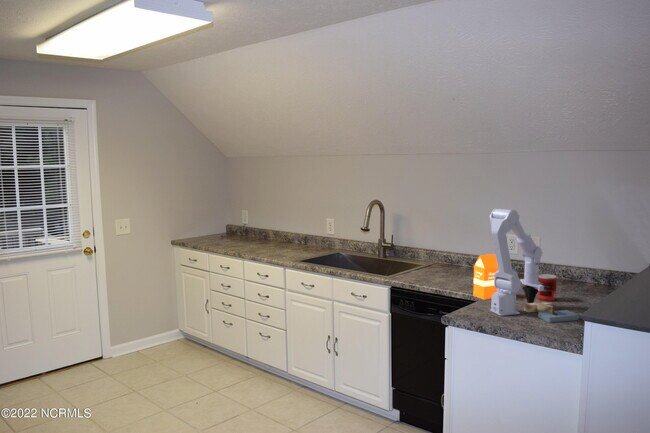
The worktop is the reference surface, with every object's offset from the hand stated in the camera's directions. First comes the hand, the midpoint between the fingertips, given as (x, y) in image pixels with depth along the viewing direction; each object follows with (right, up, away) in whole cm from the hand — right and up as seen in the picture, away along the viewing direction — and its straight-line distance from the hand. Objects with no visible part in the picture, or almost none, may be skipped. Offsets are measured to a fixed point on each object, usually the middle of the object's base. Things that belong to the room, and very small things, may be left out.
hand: (530, 303), depth 233 cm
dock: (+4, -3, -17) cm, 18 cm away
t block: (+2, -2, -8) cm, 8 cm away
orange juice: (-14, 0, +18) cm, 23 cm away
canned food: (+12, 0, +13) cm, 18 cm away
